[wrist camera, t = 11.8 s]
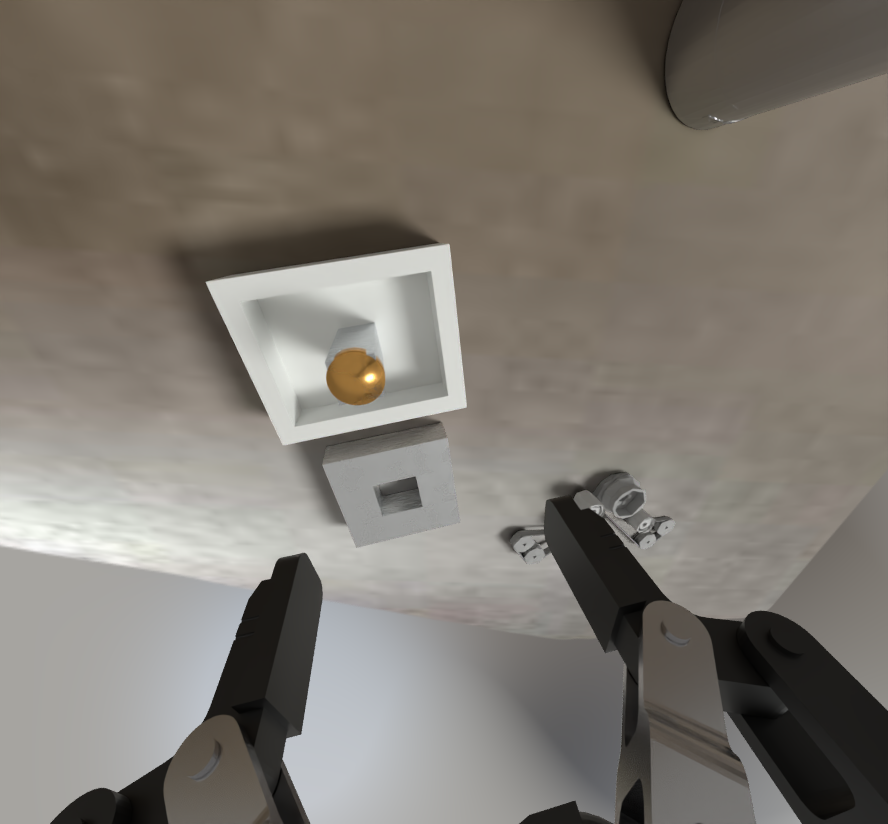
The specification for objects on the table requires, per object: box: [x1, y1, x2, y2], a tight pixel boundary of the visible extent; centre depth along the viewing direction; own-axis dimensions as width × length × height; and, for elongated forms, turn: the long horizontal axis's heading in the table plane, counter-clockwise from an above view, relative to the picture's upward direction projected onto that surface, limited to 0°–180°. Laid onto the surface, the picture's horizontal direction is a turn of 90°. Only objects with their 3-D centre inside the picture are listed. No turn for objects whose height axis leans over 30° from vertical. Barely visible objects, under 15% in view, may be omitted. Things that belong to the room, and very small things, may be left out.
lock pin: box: [325, 322, 385, 405], centre depth 23 cm, size 4×4×8 cm
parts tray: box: [206, 243, 467, 445], centre depth 26 cm, size 13×16×4 cm
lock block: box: [322, 422, 460, 548], centre depth 34 cm, size 12×12×3 cm
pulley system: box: [510, 472, 675, 564], centre depth 45 cm, size 27×5×15 cm
